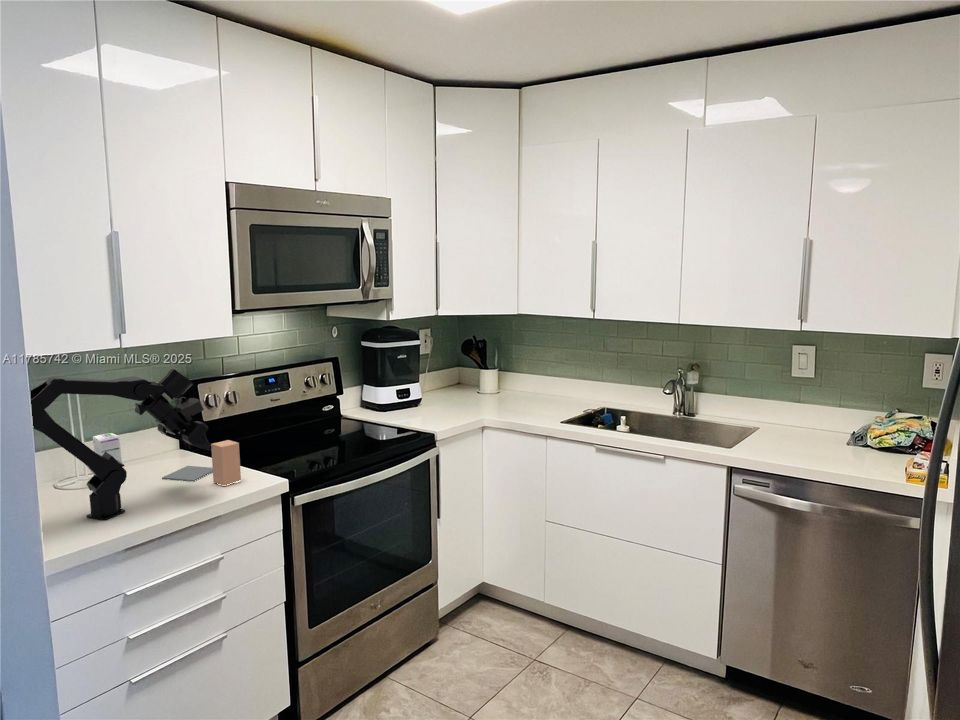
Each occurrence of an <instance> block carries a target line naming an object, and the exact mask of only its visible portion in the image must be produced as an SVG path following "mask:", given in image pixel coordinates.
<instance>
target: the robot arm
mask: <svg viewBox="0 0 960 720" xmlns="http://www.w3.org/2000/svg"><path fill="white" fill-rule="evenodd" d="M192 386H193V383H192V381H191V380H190V379H189V378H188V377H186V376H184V375H183V374H182V373H181V372H179V371H177V369H175V368H171V369H170V370H169V371H168V372H167V373H166V375H165V376H164V377H163V378H162V379H161V380H159V382H156V381H154V380H153V381H149V380H147V379H145V378H142V377H139V376H128V377H119V378H116V379H115V378H114V379H97V378H78V377H77V378H76V377H75V378H74V377H59V376H56V375H55V376H50V377H49V378H47V380H45V381H44V382H43V383H41V384H39V385H38V386H36V387H34V388H32V389H31V390H29V391H31V404H32V416H33V426H34V429H33V430H36V431H38V432H40V433H41V434H43V435H45V436H46V437H48V438H49V439H50V440H52V441H53V442H54V443H56V444H57V445H58V446H60V447H61V448H63V449H64V450H65V451H67V452H68V453H69V454H71V455H72V456H73V457H75V458H76V459H77V460H79V461H80V462H82V464H84V465H85V466H86V467H87V468H88V470H90V471H91V473H92V474H93V475H92V476H91V477H90V479H89V480H88V481H87V482H86V486H87V487H88V489H89V490H90V491H91V494H89V505H90V513H89V514H87V515H86V518H89V519H96V520H101V521H107V520H109V519H112V518H113V517H116V516H118V515H120V514H123V513H125V512H126V509H123V508H122V500H121V499H122V497H121V493H120V491H121V487H122V485H123V484H124V483H125V481H126V480H127V477H128V476H127V473H128V472H127V470H126V469H125V468H124V467H125V464H124V463H123V462H122V463H121V462H119V461H118V460H116V459H115V458H114V457H113V456H112V455H110V454H109V453H107V452H105V453H104V454H103V455H99V454H97V453H95V452H94V449H93V450H92V448H90V447H89V446H87V445H86V444H85V443H83V442H82V441H81V440H79V439H78V438H77V437H75V435H72V433H71V432H69V431H68V430H66V429H65V428H64V427H62V426H61V425H59V424H58V423H57V422H56V421H55V420H54V419H53V418H52V416H50V415H49V413H48V412H47V410H46V409H47V408H48V407H49V406H50V405H52V403H53V402H54V401H55V400H57V398H59V397H60V396H61V395H65V394H66V395H70V394H71V395H91V396H92V395H93V396H96V395H97V396H112V397H113V396H114V397H119V398H123V399H128V400H132V401H138V402H139V403H137V402H136V403H135V405H134V407H135V409H134V412H135V413H136V414H138V415H139V416H142V415H143V414H144V413H145V412H147V413H148V414H149V415H150V416H151V417H152V418H153V419H154V422H156V423H157V431H158V432H159V433H161V434H162V435H164V436H166V437H169V438H172V439H173V440H174V439H175V440H177V441H181V442H184V443H185V444H188V445H191V446H193V447H196V448H200V449H201V450H202V449H203V450H206V451H211V449H212V447H211V443H210V441H209V440H208V438H207V436H206V433H207V431H208V430H209V426H208V425H207V424H206V423H205V422H202V421H200V420H199V421H198V420H196V421H195V420H194V421H192V420H193V416H196V414H198V413H201V412H203V411H204V409H205V408H204V407H203V403H202V402H201V400H200V399H198V398H196V397H189V398H187V397H185V396H183V395H184V394H185V393H186V392H187V390H189V389H190V388H191V387H192ZM164 396H165V397H164ZM167 398H168V399H169V400H170V401H172V400H173V399H174V400H177V406H175V405H174V404H173V403H171V402H170V401H169V400H168V399H167ZM191 421H192V422H191ZM190 422H191V423H190Z"/></svg>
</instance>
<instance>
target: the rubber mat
mask: <svg viewBox="0 0 960 720" xmlns="http://www.w3.org/2000/svg"><path fill="white" fill-rule="evenodd" d="M211 472H212V473H213V467H212V466H211V467H207V466H199V465H198V466H195V465H186V466H184V467H182V468H179V469H177V470H175V471H173V472H171V473H169V474H166V475H164V476H162V477H161V480H167V479H170V480H169V481H179V480H183V481H182V482H191V481H194V482H196V481H198V480H200V479H202V478H204V477H206V476H208V475H210V474H212V473H211ZM209 473H210V474H209ZM207 474H208V475H207ZM205 475H206V476H205ZM203 476H204V477H203ZM201 477H202V478H201ZM199 478H200V479H199ZM197 479H198V480H197ZM195 480H196V481H195Z"/></svg>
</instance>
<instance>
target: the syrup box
mask: <svg viewBox="0 0 960 720" xmlns="http://www.w3.org/2000/svg"><path fill="white" fill-rule="evenodd" d="M120 439H121V438H120V436H119V435H117V434H115V433H113V432H109V433H108V432H106V433H101V434H98V435H94V436H92V445H93V451H94V452H95V453H97V454H99V455H103V454H104V453H105V452H107V453H109V454H110V455H112V456H113V457H114V458H115V459H116V460H118V461H119V462H121V463H122V464H123V462H122V461H123V460H122V451H121V441H120Z"/></svg>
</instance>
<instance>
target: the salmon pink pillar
mask: <svg viewBox="0 0 960 720" xmlns="http://www.w3.org/2000/svg"><path fill="white" fill-rule="evenodd" d="M210 445H211V447H212V449H211V450H210V451H211V462H212V464H211V465H212V466H211V468H213V472H212V479H213V482H215V483H218V484H221V485H227V484H230V483H233V482H236V481H239V480H241V481H242V472H241V457H240V456H241V455H240V442H238V441H234V440H230V439H226V440H222V441H219V442H213V443H210ZM215 483H214V484H215Z"/></svg>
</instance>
